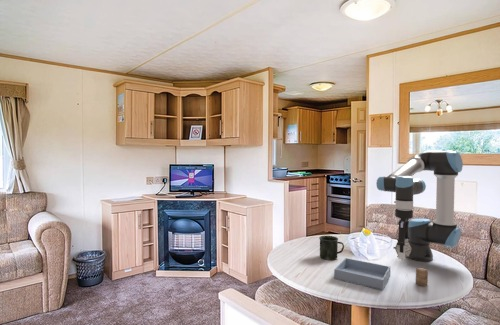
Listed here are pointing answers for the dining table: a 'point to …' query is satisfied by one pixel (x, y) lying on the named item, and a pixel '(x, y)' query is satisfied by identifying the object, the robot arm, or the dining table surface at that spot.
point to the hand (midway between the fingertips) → (403, 255)
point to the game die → (407, 249)
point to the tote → (362, 273)
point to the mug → (329, 247)
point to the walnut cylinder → (421, 277)
